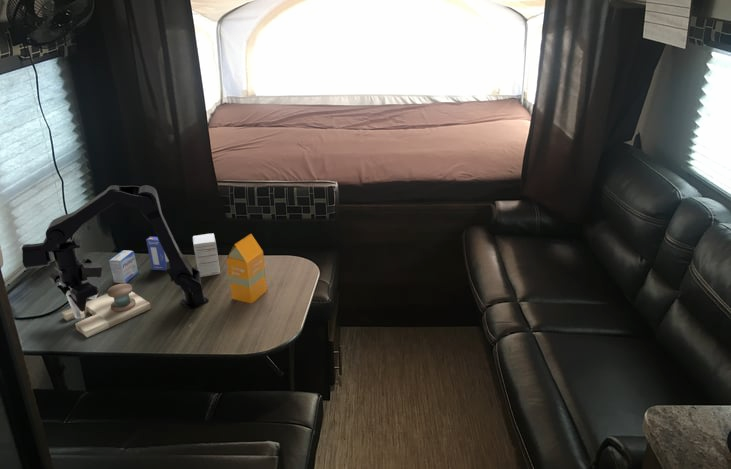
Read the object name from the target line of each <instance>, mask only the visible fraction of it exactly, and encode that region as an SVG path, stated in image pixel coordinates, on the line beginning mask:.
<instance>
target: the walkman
mask: <svg viewBox="0 0 731 469" xmlns="http://www.w3.org/2000/svg"><path fill="white" fill-rule="evenodd" d="M145 241H146V246H147V250H148V256H149V261H150V266H151V269H152V270H153V271H166V262H168V261H169V260H168V258H167V256H166V254H165V252H164V250H163V248H162V246H161V244H160V242H159V240H158V238H157V236H149V237H148V238H146V240H145Z"/></svg>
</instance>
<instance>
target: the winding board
mask: <svg viewBox="0 0 731 469" xmlns="http://www.w3.org/2000/svg"><path fill="white" fill-rule="evenodd" d="M129 297H130V298H133V299H135V302H136V304H135V306H134V307H133V308H131V309H129V310H127V311H123V312H115V311H113V310H112V309H111V304H112V303H113V302H114V298H113V297H110V296H108V293H105V294H103V295H100V296H99V297H96V298H94V299H90V300H88V301H86V314H88V313H89V314H91V315H92V316H89V317H86V318H83V319H82V320H80V321H78V322H75V329H76V330H77V331H78V332H79V333H81V334H82V335H84V336H85V337H86V338H89V337H92V336H94V335H96V334H98V333H100V332H102V331H105V330H107V329H109V328H111V327H113V326H116V325H118V324H120V323H122V322H125V321H127V320H129V319H132V318H133V317H135V316H138V315H140V314H142V313H145V312H147V311H149V310H151V309H152V308H151V307H152V305H151V303H150V302H149V301H148V300H145V299H144V298H143V297H141V296H140V295H138V294H137V293H135V292H133V291H132V292H131V293H129ZM61 314H62V318H63V319H64V320H65V321H67V322H68V321H71V320H72V319H73V320H74V319H76V318H75V316H74V313H73V311H72V308H71V307H70V308H69V309H66V310H64V311H62V312H61Z"/></svg>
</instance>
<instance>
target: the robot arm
mask: <svg viewBox="0 0 731 469" xmlns="http://www.w3.org/2000/svg"><path fill="white" fill-rule="evenodd" d="M159 198H160V197H159V194H158V192H157V189H156V188H155V187H154V186H151V185H149V184H148V185H147V184H144V185H142V186H139V185H115V184H114V185H113V184H112V185H110V186H108V187H107V188H106V189H105V190H104V191H102V192H101V193H99V194H98V195H96V196H95V197H94V198H92V199H90V200H89V201H88V202H86V203H85V204H83V205H82V206H80V207H79V208H78V209H75V210H74V211H73V212H70V213H67V214H63V215H60V216H59V217H57V218H54V219H52V220H51V222H50V223H49V225H48V226H47V229H46V231H45V238H44V240H43V242H38V243H26V244H22V247H21V251H22V253H21V255H22V256H21V257H22V261H21V262H22V264H23V265H22V266H23V267H24V268H25V269H26V270H28V269H34V268H41V267H49V266H50V264H51V263H52V262H54V261H55V266H54V269H55V271H53V272H51V273H50V275H49V276H48V277H49V279H50V282H51V283H52V284H53V285H57V283H58V284H59V285H57V286H56V288H57V289H58V290H59V291H60V292H61V293H62V294H63V295H64V297H66V293H67V291H68V290H70V289H72V290H71V292H70V293H71V294H70V295H68V296H69V297H70V299H71V300H72V301H73V302H74V303H75V305H76V306H77V307H78V308H79V309H80V311H82V312H83V311H85V308H86V302H87V299H89V298H92V297H94V296H96V295H98V294H100V293H99V290H98V286H97V285H95V284H93V283H91V282H90V281H88V278H101V277H102V272H103V266H102V265H101V264H99V263H97V262H94V261H93V262H92V260H91V259H90V258H88V257H83V258H82V260H81V262H80V261H79V257H78V254H77V250H76V249H79V248H81V245H82V240H80V239H77V238H76V237H74V236H73V235H75V233H77V231H78V230H80V228H81V227H82V226H83V225H85V224H86V223H88V222H89V221H90V220H92V219H93V218H95V217H97V215H99V214H101V213H102V212H104V211H105V210H106V209H108V208H109V207H111V206H113V205H114V204H119V205H123V206H126V207H129V208H135V209H138V210H139V212H140V213H141V215H143V217H145V219H147V221H149V223H150V226H151V227H152V228H151V229H152V230H153V231H154V235H156V236H155V237H157V238H158V240H159V242H160V244H161V246H162V248H163V250H164V252H165V254H166V256H167V258H168V260H169V261H168V262H166V270H165V272H166V273H167V274H168V276H169V277H170V282H174V284H175V285H176V286H179V287H180V288H181V289H182V293H183V299H181V300H180V302H179V303H181V304H182V305H184V306H185V307H187V308H188V309H191V310H193V309H195V308H197V307H198V306H201V305H203V304H205V303H207V302H209V301H210V300H209V299H208V298H207V297H206V296H204V291H203V285H202V279H201V277H200V271H198V269H197V268H195V267H193V266H192V264H191V263H190V262H191V261H190V260H188V259H187V258H188V257H186V256H185V255H184V254H183V253H182V252H181V250H180V248H179V246H178V244H177V243H176V240H175V239H174V238H175V237H174V236H173V234H172V232H171V230H170V228H169V226H168V223H167V220H166V219H165V216H164V215H163V212H162V208H161V203H160V199H159ZM72 237H73V238H72ZM71 238H72V239H71ZM86 281H87V282H86ZM84 282H85V283H84Z"/></svg>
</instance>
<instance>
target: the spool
mask: <svg viewBox="0 0 731 469" xmlns="http://www.w3.org/2000/svg"><path fill="white" fill-rule="evenodd" d="M131 292H133V286H132V284H130V283H116V284H115V285H112V286H110V287H109V288H108V289H107V291H106V294H108V296H110V297H113V298H114V302H113V303H112V304H111V309H112V310H113V311H115V312H123V311H127V310H129V309H131V308H133V307H134V306H135V304H136V302H135V299H133V298H130V297H129V293H131Z"/></svg>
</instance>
